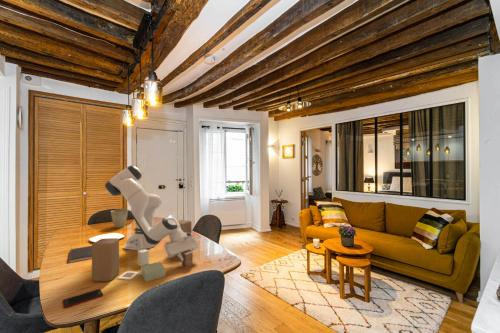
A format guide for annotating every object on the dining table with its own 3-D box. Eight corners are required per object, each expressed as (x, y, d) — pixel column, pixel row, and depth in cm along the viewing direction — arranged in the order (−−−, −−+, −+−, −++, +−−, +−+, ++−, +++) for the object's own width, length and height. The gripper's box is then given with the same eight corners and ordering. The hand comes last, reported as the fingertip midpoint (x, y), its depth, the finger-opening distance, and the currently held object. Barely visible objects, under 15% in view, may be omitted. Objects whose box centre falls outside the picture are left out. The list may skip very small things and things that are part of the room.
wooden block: (101, 273, 135) (101, 238, 135) (120, 272, 136) (119, 237, 136) (91, 282, 125) (90, 244, 125) (111, 281, 126) (111, 243, 126)
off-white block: (137, 264, 148) (137, 251, 148) (145, 261, 152) (145, 249, 151) (141, 266, 145) (141, 252, 145) (148, 263, 149) (148, 250, 149)
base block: (141, 275, 134) (141, 266, 134) (159, 270, 140) (159, 261, 140) (145, 282, 126) (145, 272, 126) (165, 276, 132) (165, 267, 132)
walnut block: (181, 266, 145) (181, 252, 145) (188, 263, 148) (188, 250, 148) (186, 268, 142) (186, 254, 142) (192, 265, 145) (192, 252, 145)
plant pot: (107, 228, 229) (107, 211, 229) (118, 224, 244) (118, 208, 244) (121, 229, 227) (121, 212, 226) (131, 225, 241) (131, 209, 241)
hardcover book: (97, 248, 178) (97, 244, 178) (98, 258, 159) (98, 254, 159) (70, 252, 169) (69, 249, 169) (67, 263, 150) (67, 260, 150)
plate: (99, 246, 181) (99, 243, 181) (84, 241, 193) (84, 238, 193) (129, 238, 200) (129, 235, 200) (113, 234, 213) (113, 231, 213)
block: (192, 248, 175) (191, 220, 175) (182, 253, 166) (182, 223, 166) (181, 246, 179) (181, 219, 179) (171, 250, 170) (171, 222, 170)
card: (117, 279, 129) (117, 277, 129) (126, 272, 137) (126, 270, 137) (131, 279, 128) (131, 278, 128) (139, 273, 136) (139, 271, 136)
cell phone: (62, 301, 109) (62, 299, 108) (100, 290, 118) (100, 288, 118) (63, 309, 103) (63, 307, 103) (103, 297, 112) (103, 294, 112)
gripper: (164, 240, 142) (174, 261, 135) (194, 232, 157) (203, 251, 151) (161, 246, 145) (170, 267, 138) (190, 238, 160) (199, 256, 154)
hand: (187, 258), depth 145 cm, fingers closed on walnut block, 4 cm apart
